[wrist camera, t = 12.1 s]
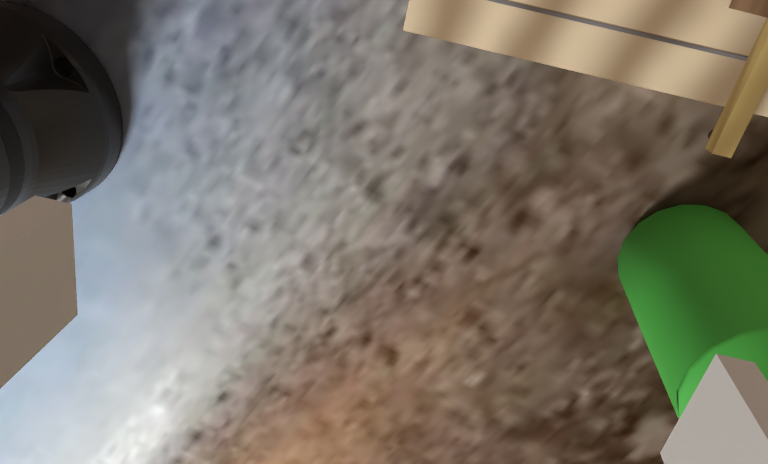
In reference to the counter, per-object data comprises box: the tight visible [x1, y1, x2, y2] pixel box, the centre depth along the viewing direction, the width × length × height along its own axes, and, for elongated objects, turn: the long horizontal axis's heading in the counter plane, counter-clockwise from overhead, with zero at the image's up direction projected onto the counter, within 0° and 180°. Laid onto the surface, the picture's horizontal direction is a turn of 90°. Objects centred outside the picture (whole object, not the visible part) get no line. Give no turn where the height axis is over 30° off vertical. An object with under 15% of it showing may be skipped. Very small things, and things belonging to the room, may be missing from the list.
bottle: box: [618, 205, 768, 419], centre depth 33 cm, size 9×9×25 cm
